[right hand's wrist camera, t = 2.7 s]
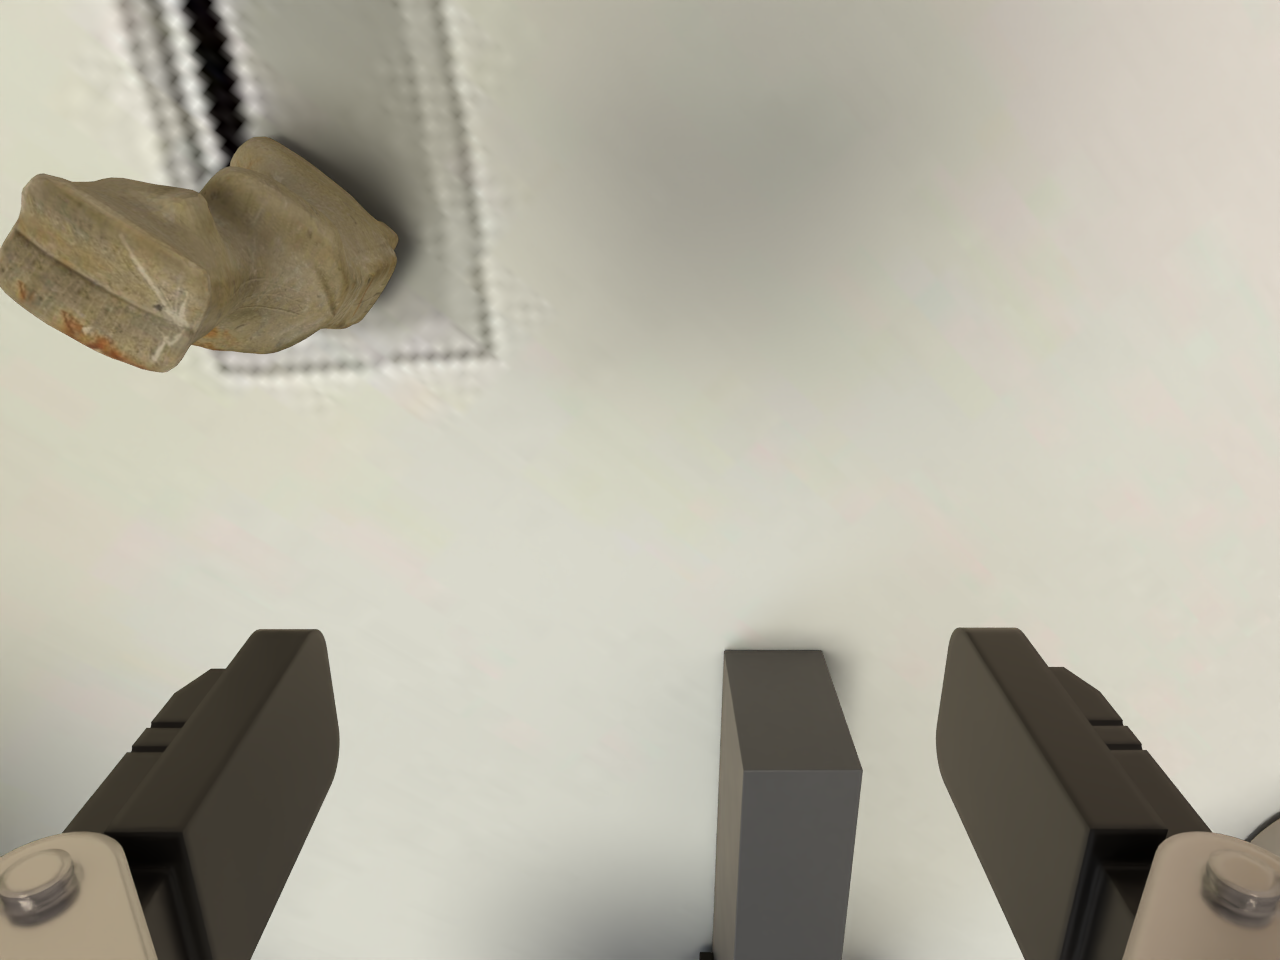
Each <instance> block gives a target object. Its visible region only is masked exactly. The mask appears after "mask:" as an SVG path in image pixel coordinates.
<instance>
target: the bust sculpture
mask: <svg viewBox="0 0 1280 960" xmlns="http://www.w3.org/2000/svg"><path fill="white" fill-rule="evenodd" d="M1250 843H1252V844H1254V845H1257V846H1259V847H1261V848H1264V849H1266V850H1267V851H1269V852H1271V853H1273V854H1275V855H1277V856H1279V857H1280V819H1278V820H1276V821H1275V822H1273V823H1272V824H1271V825H1269V826H1268V827H1267V828H1265V829H1264V830H1263V831H1262V832H1261V833H1259V834H1258V835H1257V836H1256V837H1255V838H1254V839H1253V840H1252V841H1251V842H1250Z"/></svg>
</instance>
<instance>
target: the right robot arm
mask: <svg viewBox="0 0 1280 960" xmlns="http://www.w3.org/2000/svg"><path fill="white" fill-rule="evenodd" d="M936 749H937V758H938V764H939V768H940V772H941V776H942V778H943V781H944V783H945V786H946V788H947V790H948V792H949V794H950V796H951V799H952V801H953V803H954V805H955V807H956V810H957V812H958V814H959V816H960V818H961V821H962V823H963V825H964V827H965V829H966V832H967V834H968V836H969V838H970V840H971V843H972V845H973V847H974V849H975V851H976V853H977V856H978V858H979V860H980V862H981V864H982V867H983V869H984V871H985V873H986V875H987V878H988V880H989V882H990V884H991V886H992V889H993V891H994V893H995V895H996V897H997V900H998V902H999V904H1000V906H1001V908H1002V910H1003V913H1004V915H1005V917H1006V919H1007V921H1008V924H1009V926H1010V928H1011V930H1012V932H1013V935H1014V937H1015V939H1016V941H1017V943H1018V946H1019V948H1020V950H1021V952H1022V954H1023V957H1024V959H1025V960H1280V857H1279V856H1277V855H1275V854H1273V853H1271V852H1269V851H1267V850H1266V849H1264V848H1261V847H1259V846H1257V845H1254V844H1252V843H1250V842H1247V841H1244V840H1241V839H1238V838H1235V837H1231V836H1227V835H1223V834H1218V833H1212V831H1211V830H1210V829H1209V828H1208V826H1207V825H1206V824H1205V823H1204V821H1203V820H1202V819H1201V818H1200V816H1199V815H1198V814H1197V813H1196V811H1195V810H1194V809H1193V808H1192V806H1191V805H1190V804H1189V803H1188V801H1187V800H1186V799H1185V798H1184V796H1183V795H1182V794H1181V793H1180V791H1179V790H1178V789H1177V788H1176V786H1175V785H1174V784H1173V783H1172V781H1171V780H1170V779H1169V778H1168V776H1167V775H1166V774H1165V773H1164V771H1163V770H1162V769H1161V768H1160V766H1159V765H1158V764H1157V763H1156V761H1155V760H1154V759H1153V758H1152V756H1151V755H1150V754H1149V753H1148V751H1147V750H1142V744H1141V742H1140V741H1139V740H1138V739H1137V737H1136V736H1135V735H1134V734H1133V732H1132V731H1131V730H1130V729H1129V727H1128V726H1123V720H1122V719H1121V717H1120V716H1119V715H1118V714H1117V712H1116V711H1115V710H1114V709H1113V707H1112V706H1111V705H1110V704H1109V702H1108V701H1107V700H1106V699H1105V697H1104V696H1103V695H1102V694H1101V692H1100V691H1098V690H1097V689H1095V688H1094V687H1092V686H1091V685H1089V684H1088V683H1086V682H1085V681H1083V680H1082V679H1080V678H1079V677H1078V676H1076V675H1075V674H1073V673H1072V672H1070V671H1069V670H1067V669H1066V668H1064V667H1048V666H1047V664H1046V663H1045V662H1044V660H1043V659H1042V658H1041V656H1040V655H1039V654H1038V652H1037V651H1036V649H1035V648H1034V647H1033V645H1032V644H1031V643H1030V641H1029V640H1028V639H1027V637H1026V636H1025V635H1024V633H1023V632H1022V631H1021V630H1019V629H1018V628H957V629H955V630H954V632H953V633H952V635H951V638H950V642H949V647H948V654H947V660H946V667H945V674H944V681H943V688H942V694H941V701H940V708H939V715H938V722H937V730H936ZM338 756H339V727H338V720H337V713H336V707H335V700H334V693H333V687H332V680H331V673H330V666H329V660H328V653H327V647H326V642H325V639H324V636H323V634H322V633H321V631H319V630H317V629H259V630H256V631H255V632H254V633H253V634H252V635H251V636H250V637H249V639H248V640H247V641H246V643H245V644H244V645H243V647H242V648H241V649H240V651H239V652H238V653H237V655H236V656H235V657H234V659H233V660H232V661H231V663H230V664H229V665H228V667H227V668H226V669H210V670H209V671H207V672H206V673H204V674H203V675H201V676H200V677H198V678H197V679H195V680H194V681H192V682H191V683H189V684H188V685H186V686H185V687H183V688H182V689H180V690H179V691H177V692H176V693H174V695H173V696H172V697H171V698H170V700H169V701H168V702H167V703H166V705H165V706H164V707H163V708H162V710H161V711H160V712H159V713H158V715H157V716H156V717H155V718H154V719H153V721H152V722H151V728H146V729H145V731H144V732H143V733H142V734H141V736H140V737H139V738H138V739H137V741H136V742H135V743H134V744H133V746H132V751H131V752H127V753H126V754H125V755H124V757H123V758H122V759H121V760H120V762H119V763H118V764H117V765H116V767H115V768H114V769H113V770H112V772H111V773H110V774H109V775H108V777H107V778H106V779H105V780H104V782H103V783H102V784H101V785H100V787H99V788H98V789H97V790H96V791H95V793H94V794H93V795H92V796H91V798H90V799H89V800H88V801H87V803H86V804H85V805H84V806H83V808H82V809H81V810H80V811H79V813H78V814H77V815H76V816H75V818H74V819H73V820H72V821H71V822H70V824H69V825H68V826H67V827H66V829H65V830H64V831H63V832H62V834H57V835H53V836H49V837H45V838H42V839H39V840H36V841H33V842H30V843H28V844H26V845H23V846H21V847H19V848H16V849H14V850H13V851H11V852H9V853H7V854H5V855H3V856H1V857H0V960H250V959H251V957H252V955H253V953H254V951H255V948H256V946H257V944H258V942H259V940H260V938H261V935H262V933H263V931H264V929H265V927H266V925H267V922H268V920H269V918H270V916H271V914H272V912H273V909H274V907H275V905H276V903H277V901H278V899H279V897H280V894H281V892H282V890H283V888H284V886H285V884H286V881H287V879H288V877H289V875H290V873H291V871H292V868H293V866H294V864H295V862H296V860H297V858H298V855H299V853H300V851H301V849H302V847H303V845H304V842H305V840H306V838H307V836H308V834H309V832H310V829H311V827H312V825H313V823H314V821H315V819H316V816H317V814H318V812H319V810H320V808H321V806H322V803H323V801H324V799H325V797H326V795H327V793H328V790H329V788H330V786H331V784H332V781H333V779H334V776H335V772H336V768H337V763H338Z"/></svg>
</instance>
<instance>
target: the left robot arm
mask: <svg viewBox="0 0 1280 960" xmlns="http://www.w3.org/2000/svg"><path fill="white" fill-rule="evenodd" d="M700 960H714V956H713V952H700Z"/></svg>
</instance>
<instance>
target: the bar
mask: <svg viewBox="0 0 1280 960" xmlns="http://www.w3.org/2000/svg"><path fill="white" fill-rule="evenodd" d="M862 772H863V770H862V767H861V764H860V761H859V758H858V755H857V752H856V749H855V746H854V744H853V741H852V738H851V735H850V732H849V729H848V726H847V723H846V720H845V717H844V714H843V712H842V709H841V706H840V703H839V700H838V697H837V694H836V691H835V688H834V685H833V682H832V679H831V677H830V674H829V671H828V668H827V665H826V662H825V659H824V656H823V653H822V651H724V667H723V692H722V717H721V742H720V768H719V793H718V818H717V843H716V868H715V894H714V919H713V944H712V952H713V956H714V960H842V951H843V942H844V933H845V924H846V915H847V906H848V897H849V888H850V879H851V870H852V861H853V852H854V844H855V835H856V826H857V817H858V808H859V799H860V790H861V781H862Z"/></svg>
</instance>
